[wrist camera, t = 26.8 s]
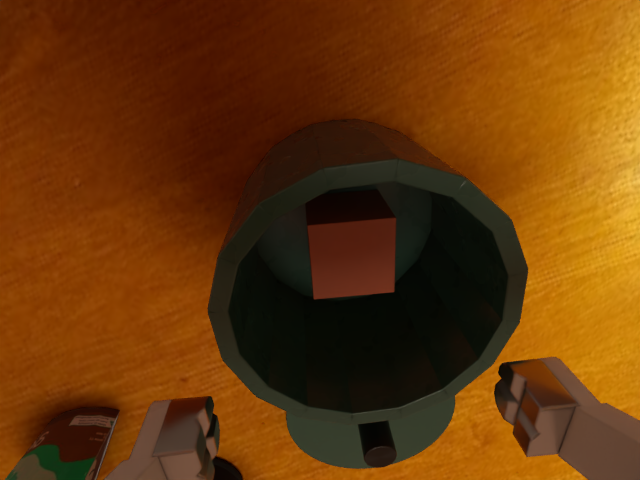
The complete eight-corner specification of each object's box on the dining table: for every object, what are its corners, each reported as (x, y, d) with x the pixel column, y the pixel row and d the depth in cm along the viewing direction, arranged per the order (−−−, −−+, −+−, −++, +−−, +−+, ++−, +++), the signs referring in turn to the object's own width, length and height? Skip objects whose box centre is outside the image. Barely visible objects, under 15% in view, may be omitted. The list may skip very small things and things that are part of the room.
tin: (225, 284, 25) (189, 402, 16) (266, 90, 20) (245, 114, 11) (397, 319, 27) (445, 439, 19) (475, 153, 22) (590, 212, 13)
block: (310, 260, 24) (313, 299, 20) (304, 195, 22) (306, 225, 18) (378, 254, 24) (394, 292, 20) (378, 189, 22) (396, 217, 18)
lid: (270, 445, 32) (266, 503, 28) (311, 324, 27) (315, 373, 23) (412, 463, 35) (429, 519, 30) (478, 355, 29) (509, 405, 25)
